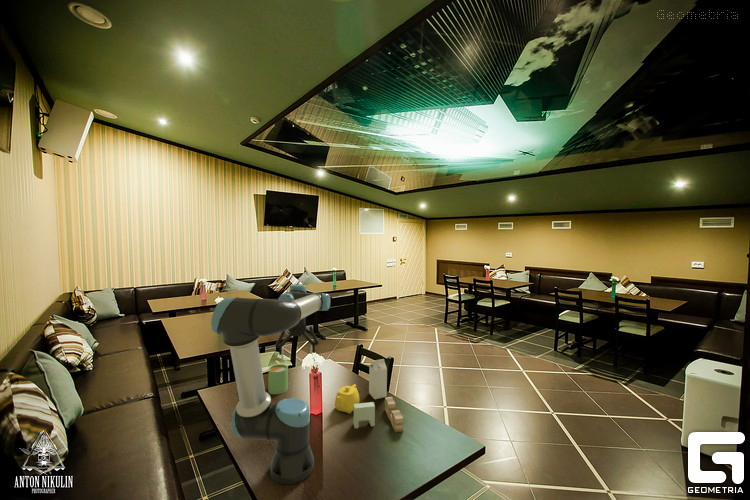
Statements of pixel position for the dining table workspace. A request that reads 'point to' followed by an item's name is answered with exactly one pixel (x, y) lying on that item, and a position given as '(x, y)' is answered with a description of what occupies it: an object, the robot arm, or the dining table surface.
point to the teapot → (347, 399)
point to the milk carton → (378, 379)
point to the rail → (394, 414)
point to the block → (364, 413)
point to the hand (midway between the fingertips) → (297, 360)
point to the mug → (278, 379)
